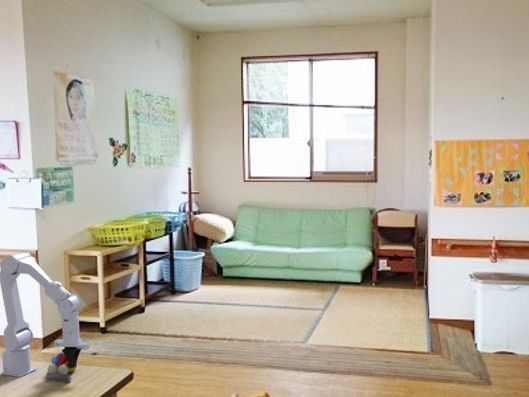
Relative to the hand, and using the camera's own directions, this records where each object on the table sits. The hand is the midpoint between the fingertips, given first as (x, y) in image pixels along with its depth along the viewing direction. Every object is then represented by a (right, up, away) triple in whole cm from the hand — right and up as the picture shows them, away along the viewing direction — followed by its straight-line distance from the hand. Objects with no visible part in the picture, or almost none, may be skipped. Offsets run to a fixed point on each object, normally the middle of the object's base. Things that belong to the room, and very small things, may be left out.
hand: (72, 367), depth 205 cm
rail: (-3, -3, -5) cm, 7 cm away
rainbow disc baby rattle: (-5, -3, +3) cm, 7 cm away
